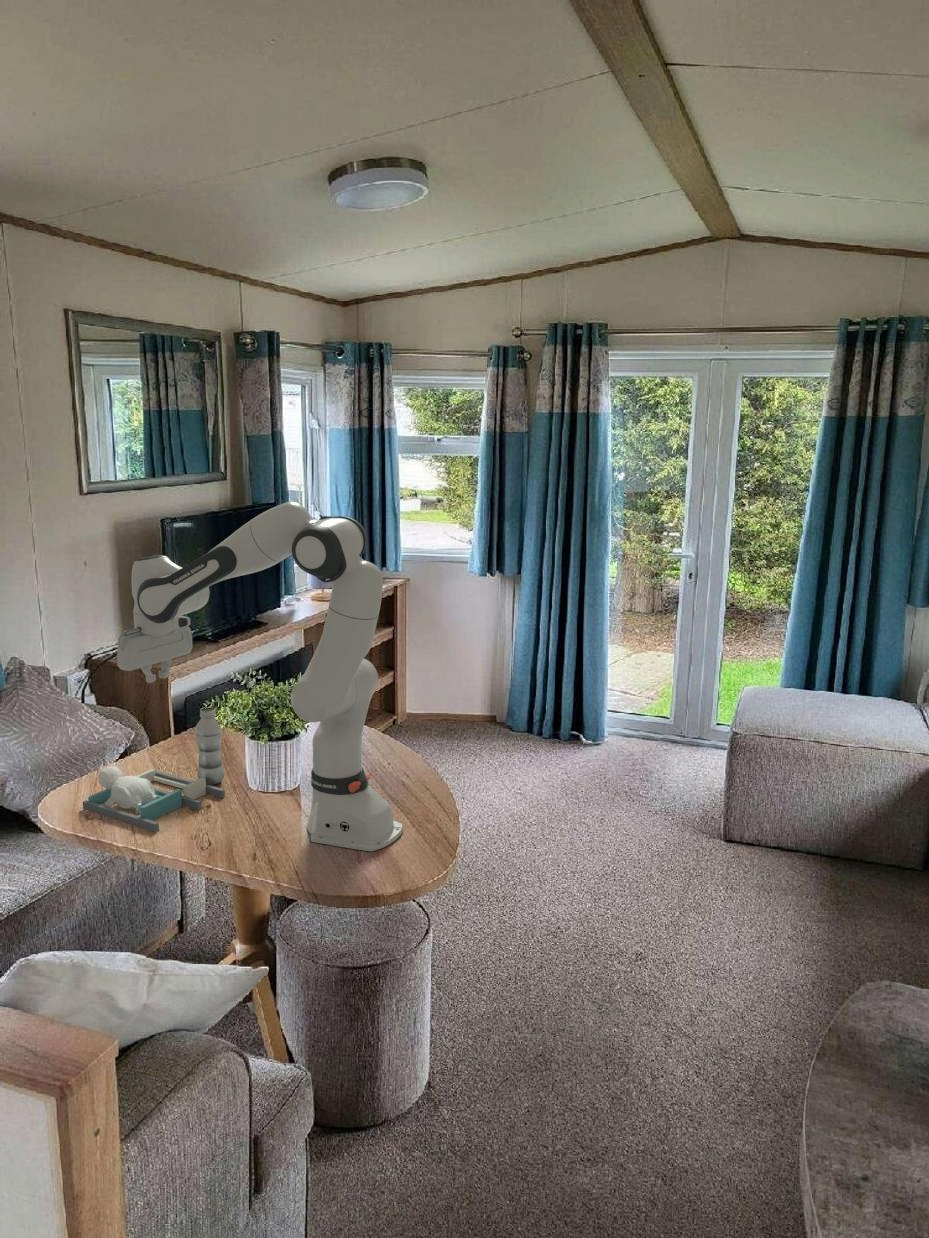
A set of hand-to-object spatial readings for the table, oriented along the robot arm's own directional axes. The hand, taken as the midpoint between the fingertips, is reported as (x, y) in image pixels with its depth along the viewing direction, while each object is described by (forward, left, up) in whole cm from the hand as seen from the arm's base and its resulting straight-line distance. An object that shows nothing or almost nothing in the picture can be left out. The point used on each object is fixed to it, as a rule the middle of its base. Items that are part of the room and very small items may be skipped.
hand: (157, 679), depth 207 cm
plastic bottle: (-2, -14, -31) cm, 34 cm away
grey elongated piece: (+3, -5, -31) cm, 31 cm away
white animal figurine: (+7, +6, -31) cm, 33 cm away
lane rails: (+1, +2, -31) cm, 31 cm away
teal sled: (+3, +6, -31) cm, 32 cm away
